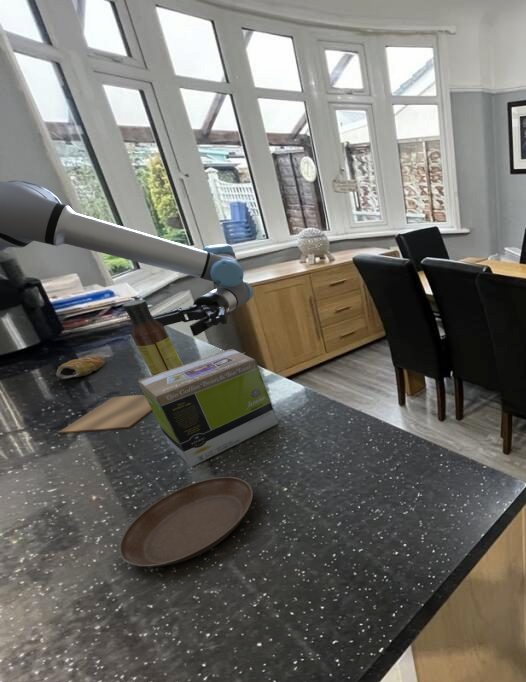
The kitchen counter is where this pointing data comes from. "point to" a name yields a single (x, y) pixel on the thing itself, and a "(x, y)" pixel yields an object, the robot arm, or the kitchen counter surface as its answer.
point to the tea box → (210, 404)
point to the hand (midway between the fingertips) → (163, 332)
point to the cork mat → (112, 415)
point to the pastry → (79, 367)
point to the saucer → (186, 522)
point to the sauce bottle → (151, 339)
